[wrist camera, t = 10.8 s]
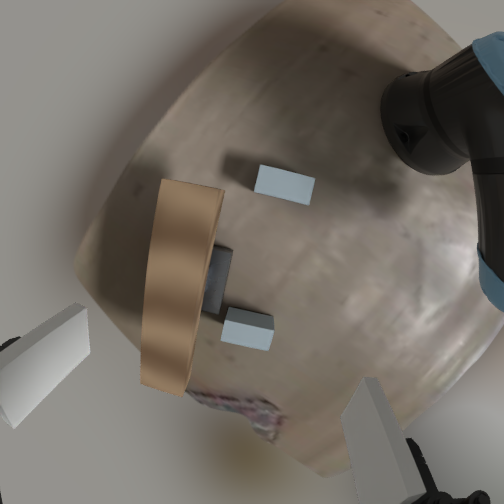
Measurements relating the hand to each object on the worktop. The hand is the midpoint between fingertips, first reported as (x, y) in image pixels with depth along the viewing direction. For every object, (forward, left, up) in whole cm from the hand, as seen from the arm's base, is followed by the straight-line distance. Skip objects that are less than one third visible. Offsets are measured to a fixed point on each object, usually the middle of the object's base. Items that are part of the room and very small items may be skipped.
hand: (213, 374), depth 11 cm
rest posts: (0, +2, -23) cm, 24 cm away
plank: (+4, -6, -16) cm, 18 cm away
